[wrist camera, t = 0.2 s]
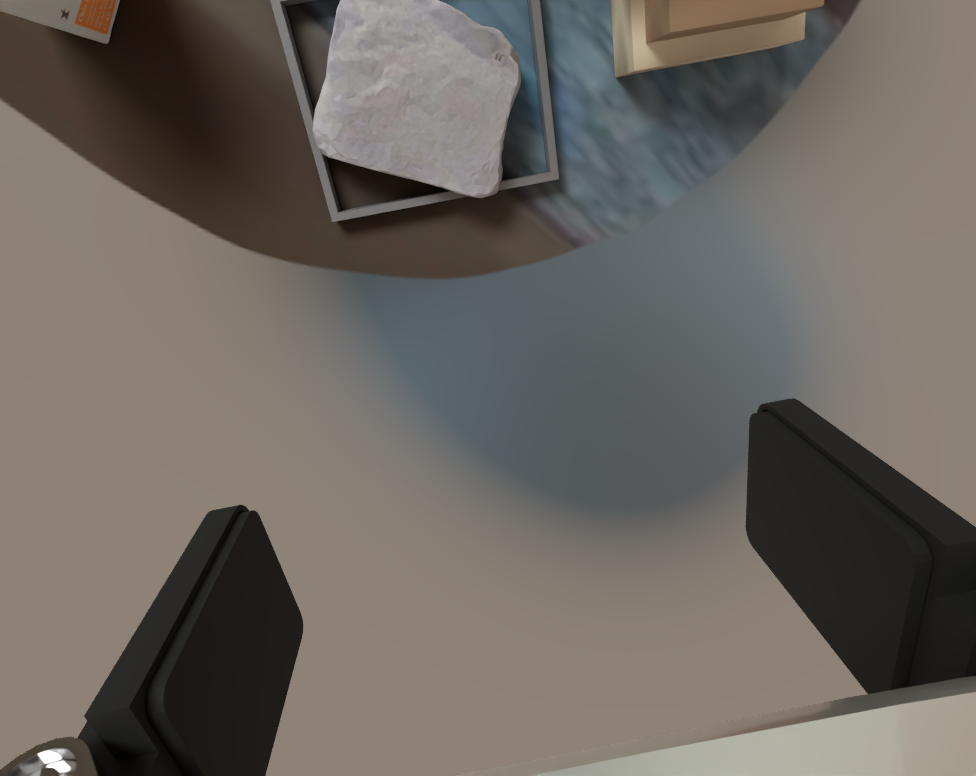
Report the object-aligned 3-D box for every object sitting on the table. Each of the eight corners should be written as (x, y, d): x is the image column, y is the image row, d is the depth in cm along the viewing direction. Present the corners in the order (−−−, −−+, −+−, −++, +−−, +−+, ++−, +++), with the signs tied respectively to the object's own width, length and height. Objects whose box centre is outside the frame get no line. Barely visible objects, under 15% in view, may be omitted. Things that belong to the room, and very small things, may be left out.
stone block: (345, -2, 34) (318, 164, 36) (329, -43, 30) (299, 150, 32) (529, 51, 36) (493, 208, 38) (541, 20, 31) (500, 201, 33)
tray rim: (273, -3, 32) (267, -8, 31) (530, -50, 32) (533, -57, 31) (335, 219, 37) (332, 222, 36) (555, 178, 37) (559, 179, 36)
